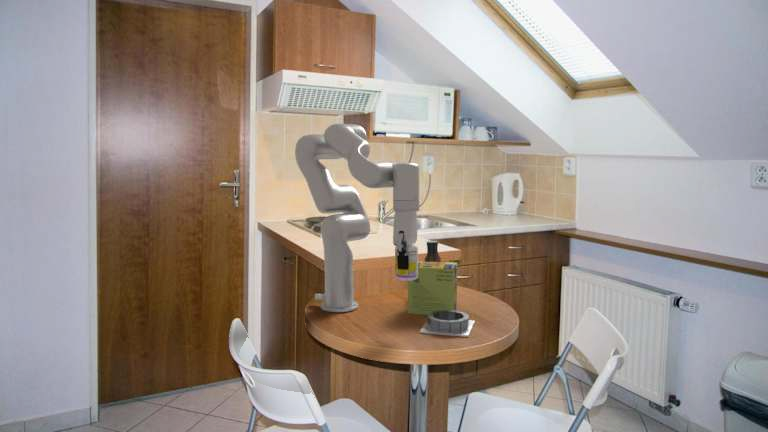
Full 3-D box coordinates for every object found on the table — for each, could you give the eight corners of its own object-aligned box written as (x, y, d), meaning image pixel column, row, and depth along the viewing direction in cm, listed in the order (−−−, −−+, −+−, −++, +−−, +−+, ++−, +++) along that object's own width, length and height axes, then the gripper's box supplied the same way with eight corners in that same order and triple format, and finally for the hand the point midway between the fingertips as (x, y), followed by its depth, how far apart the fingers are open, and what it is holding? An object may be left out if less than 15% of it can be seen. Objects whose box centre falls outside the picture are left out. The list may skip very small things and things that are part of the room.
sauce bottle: (440, 292, 204) (441, 239, 201) (443, 296, 197) (443, 242, 195) (423, 292, 203) (423, 240, 201) (425, 297, 197) (425, 242, 195)
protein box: (455, 316, 173) (455, 268, 172) (407, 314, 177) (407, 267, 175) (457, 307, 184) (457, 262, 182) (412, 305, 187) (412, 260, 185)
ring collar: (419, 332, 158) (419, 320, 158) (430, 318, 171) (430, 307, 171) (468, 337, 154) (468, 324, 153) (474, 322, 167) (475, 311, 167)
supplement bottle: (400, 275, 164) (399, 233, 163) (421, 277, 162) (420, 234, 160) (391, 280, 158) (391, 236, 157) (413, 282, 156) (413, 237, 154)
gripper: (402, 203, 167) (402, 260, 169) (384, 208, 151) (385, 272, 153) (426, 203, 165) (426, 261, 167) (410, 208, 148) (411, 273, 150)
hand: (406, 266), depth 160 cm, fingers closed on supplement bottle, 6 cm apart
